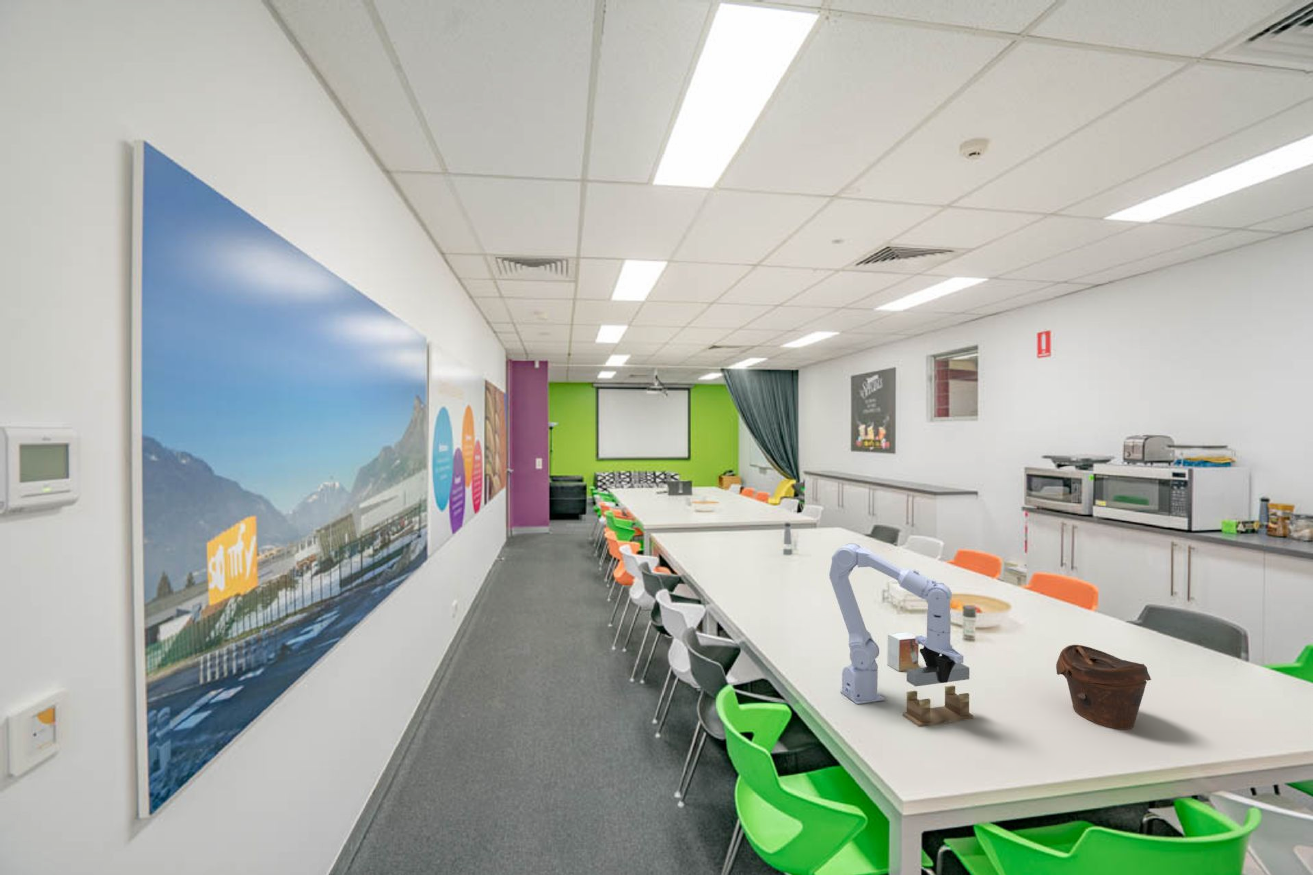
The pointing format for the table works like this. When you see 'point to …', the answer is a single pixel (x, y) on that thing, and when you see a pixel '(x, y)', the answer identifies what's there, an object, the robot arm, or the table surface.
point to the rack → (937, 708)
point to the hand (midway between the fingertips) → (937, 679)
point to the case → (1103, 685)
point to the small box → (902, 651)
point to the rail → (935, 675)
